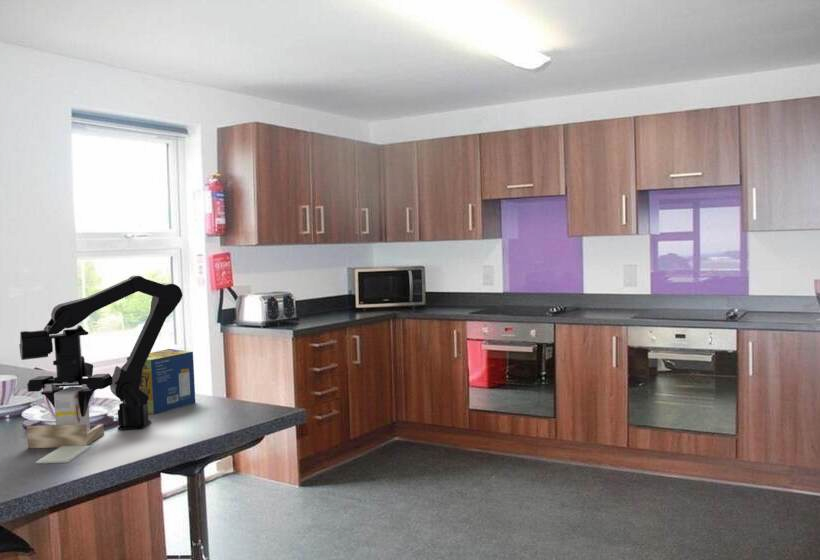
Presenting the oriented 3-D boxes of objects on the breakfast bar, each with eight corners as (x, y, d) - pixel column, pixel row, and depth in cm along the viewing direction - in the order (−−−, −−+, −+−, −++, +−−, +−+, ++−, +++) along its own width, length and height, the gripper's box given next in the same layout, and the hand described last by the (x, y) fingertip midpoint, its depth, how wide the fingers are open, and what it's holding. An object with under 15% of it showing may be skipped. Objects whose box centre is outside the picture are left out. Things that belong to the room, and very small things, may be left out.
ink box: (76, 441, 171) (72, 393, 170) (55, 442, 171) (52, 394, 170) (91, 431, 179) (88, 385, 179) (72, 432, 179) (68, 386, 179)
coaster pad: (90, 447, 166) (90, 445, 166) (67, 462, 155) (67, 460, 155) (61, 448, 166) (61, 446, 166) (36, 463, 155) (35, 461, 155)
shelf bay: (103, 434, 177) (102, 414, 177) (85, 446, 167) (83, 425, 166) (50, 435, 177) (48, 416, 177) (28, 448, 167) (26, 427, 167)
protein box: (129, 410, 201) (125, 357, 199) (172, 399, 214) (170, 348, 213) (153, 414, 195) (150, 359, 194) (196, 402, 208) (194, 350, 207)
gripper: (119, 347, 182) (123, 407, 183) (47, 350, 182) (51, 409, 183) (100, 355, 171) (104, 418, 172) (23, 358, 171) (28, 421, 172)
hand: (72, 416), depth 175 cm, fingers closed on ink box, 5 cm apart
